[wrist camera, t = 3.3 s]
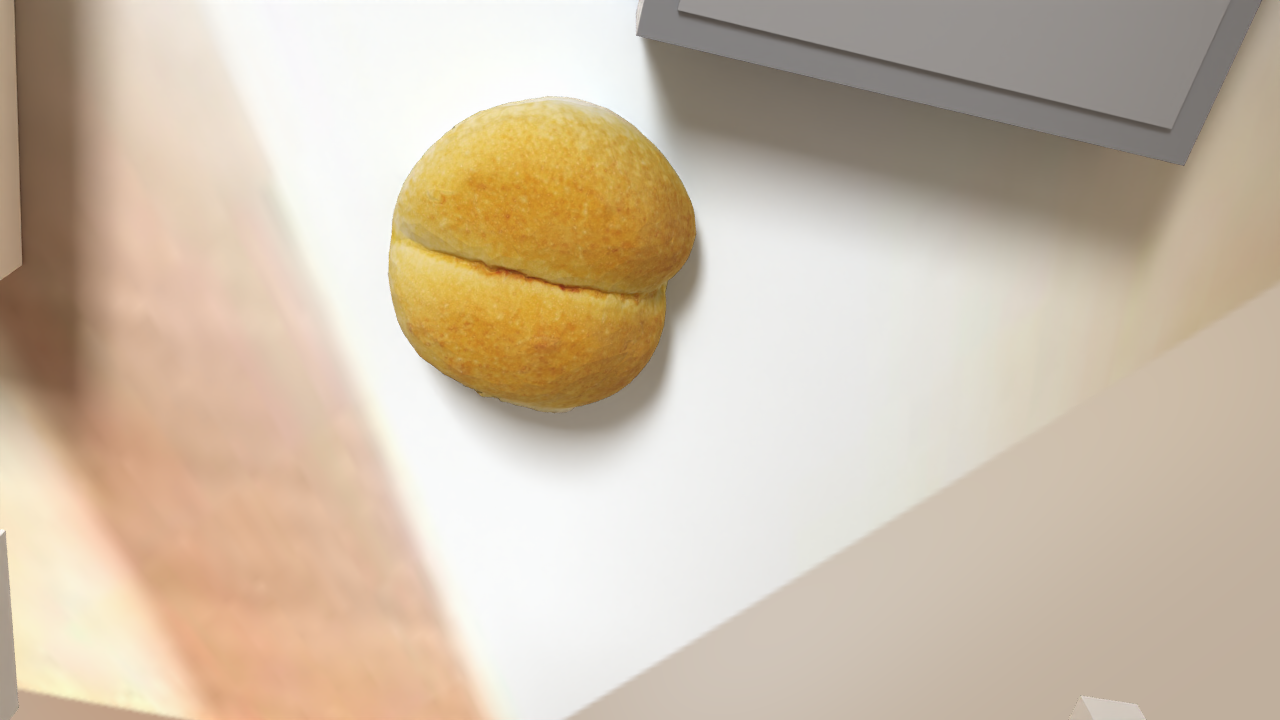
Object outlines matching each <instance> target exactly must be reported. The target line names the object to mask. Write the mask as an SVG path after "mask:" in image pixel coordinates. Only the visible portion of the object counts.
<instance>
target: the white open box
mask: <svg viewBox="0 0 1280 720" xmlns="http://www.w3.org/2000/svg"><path fill="white" fill-rule="evenodd" d="M21 265H22V240H21V208H20V175H19V142H18V109H17V77H16V44H15V11H14V0H0V280H2V279H3V278H4V277H6V276H7V275H9V274H10V273H12V272H13V271H14V270H16V269H17V268H19V267H20V266H21Z"/></svg>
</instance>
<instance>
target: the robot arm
mask: <svg viewBox="0 0 1280 720" xmlns="http://www.w3.org/2000/svg"><path fill="white" fill-rule="evenodd" d="M18 708H19V705H18V692H17V679H16V665H15V652H14V638H13V625H12V612H11V598H10V585H9V571H8V558H7V545H6V531H5V530H0V720H10V719H11V718H12V717H13V715H14V714H15V712H16V711H17V709H18ZM1068 720H1146V718H1145V717H1144V715H1143V713H1142V712H1141V710H1140V708H1139V706H1138V705H1137V704H1133V703H1126V702H1119V701H1113V700H1107V699H1100V698H1093V697H1087V696H1080V697H1079V700H1078V702H1077V703H1076V705H1075V707H1074V709H1073V711H1072V713H1071V715H1070V717H1069V719H1068Z"/></svg>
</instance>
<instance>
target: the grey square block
mask: <svg viewBox="0 0 1280 720" xmlns="http://www.w3.org/2000/svg"><path fill="white" fill-rule="evenodd" d="M1261 1H1262V0H639V2H638V6H637V11H636V36H640V37H644V38H648V39H653V40H657V41H661V42H665V43H669V44H674V45H678V46H682V47H686V48H690V49H695V50H699V51H703V52H707V53H712V54H716V55H720V56H724V57H728V58H733V59H737V60H741V61H745V62H749V63H754V64H758V65H762V66H766V67H770V68H775V69H779V70H783V71H787V72H791V73H796V74H800V75H804V76H808V77H812V78H817V79H821V80H825V81H829V82H834V83H838V84H842V85H846V86H850V87H855V88H859V89H863V90H867V91H871V92H876V93H880V94H884V95H888V96H892V97H897V98H901V99H905V100H909V101H913V102H918V103H922V104H926V105H930V106H935V107H939V108H943V109H947V110H951V111H956V112H960V113H964V114H968V115H972V116H977V117H981V118H985V119H989V120H993V121H998V122H1002V123H1006V124H1010V125H1014V126H1019V127H1023V128H1027V129H1031V130H1036V131H1040V132H1044V133H1048V134H1052V135H1057V136H1061V137H1065V138H1069V139H1073V140H1078V141H1082V142H1086V143H1090V144H1094V145H1099V146H1103V147H1107V148H1111V149H1115V150H1120V151H1124V152H1128V153H1132V154H1137V155H1141V156H1145V157H1149V158H1153V159H1158V160H1162V161H1166V162H1170V163H1174V164H1179V165H1183V166H1184V165H1185V163H1186V161H1187V159H1188V156H1189V154H1190V152H1191V150H1192V148H1193V146H1194V144H1195V142H1196V139H1197V137H1198V135H1199V133H1200V131H1201V129H1202V127H1203V125H1204V122H1205V120H1206V118H1207V116H1208V114H1209V112H1210V110H1211V108H1212V105H1213V103H1214V101H1215V99H1216V97H1217V95H1218V93H1219V91H1220V88H1221V86H1222V84H1223V82H1224V80H1225V78H1226V76H1227V74H1228V71H1229V69H1230V67H1231V65H1232V63H1233V61H1234V59H1235V57H1236V54H1237V52H1238V50H1239V48H1240V46H1241V44H1242V42H1243V40H1244V37H1245V35H1246V33H1247V31H1248V29H1249V27H1250V25H1251V23H1252V20H1253V18H1254V16H1255V14H1256V12H1257V10H1258V8H1259V6H1260V4H1261Z"/></svg>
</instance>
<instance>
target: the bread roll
mask: <svg viewBox="0 0 1280 720" xmlns="http://www.w3.org/2000/svg"><path fill="white" fill-rule="evenodd" d="M695 236H696V227H695V215H694V209H693V206H692V203H691V200H690V198H689V196H688V194H687V192H686V189H685V187H684V185H683V183H682V182H681V180H680V178H679V176H678V175H677V173H676V172H675V171H674V169H673V168H672V166H671V165H670V163H669V162H668V161H667V159H666V158H665V156H664V155H663V154H662V153H661V152H660V151H659V150H658V148H657V147H656V146H655V145H654V144H653V143H652V142H651V141H650V140H648V139H647V138H646V137H645V136H644V135H643V134H642V133H641V132H640V131H639V130H638V129H637V128H636V127H635V126H634V125H632V124H631V123H629V122H628V121H626V120H625V119H624V118H622V117H620V116H619V115H617V114H616V113H614V112H612V111H611V110H609V109H607V108H604V107H601V106H598V105H595V104H592V103H589V102H586V101H583V100H580V99H576V98H569V97H552V96H547V97H541V98H535V99H527V100H523V101H517V102H510V103H506V104H503V105H499V106H496V107H493V108H490V109H487V110H483V111H480V112H478V113H476V114H474V115H472V116H470V117H468V118H467V119H465V120H463V121H462V122H460V123H458V124H457V125H455V126H454V127H453V129H451V130H450V131H448V132H446V133H445V134H444V135H443V137H442V138H440V139H439V140H438V141H437V142H436V143H434V144H433V145H432V146H431V147H430V148H429V149H428V150H427V151H426V152H425V154H424V155H423V156H422V158H421V159H420V160H419V161H418V162H417V163H416V165H415V166H414V168H413V169H412V171H411V172H410V174H409V175H408V177H407V179H406V180H405V182H404V183H403V186H402V189H401V191H400V194H399V196H398V199H397V203H396V206H395V209H394V214H393V220H392V236H391V243H390V250H389V272H388V276H389V284H390V290H391V296H392V301H393V305H394V309H395V313H396V316H397V320H398V322H399V325H400V327H401V329H402V332H403V333H404V335H405V336H406V338H407V339H408V341H409V342H410V344H411V345H412V346H413V348H414V349H415V350H416V352H417V353H418V355H419V356H420V357H422V358H423V359H424V360H425V361H427V362H428V363H430V364H431V365H433V366H434V367H435V368H437V369H438V370H439V371H440V372H442V373H443V374H445V375H447V376H449V377H451V378H453V379H454V380H456V381H458V382H460V383H462V384H463V385H464V386H466V387H469V388H472V389H474V390H475V391H476V392H477V393H478V394H479V395H480V396H482V397H494V398H498V399H499V400H500V401H502V402H508V403H511V404H513V405H518V406H523V407H527V408H531V409H534V410H537V411H541V412H552V413H564V412H568V411H571V410H572V409H573V408H575V407H577V406H583V405H586V404H590V403H593V402H596V401H599V400H602V399H604V398H607V397H609V396H611V395H613V394H615V393H616V392H618V391H620V390H621V389H622V388H624V387H625V386H626V385H628V384H629V383H630V382H631V381H632V380H633V379H634V378H635V377H636V376H637V375H638V374H639V373H640V372H641V370H642V369H643V368H644V367H645V365H646V364H647V363H648V362H649V360H650V358H651V356H652V355H653V353H654V351H655V349H656V347H657V345H658V343H659V340H660V337H661V334H662V330H663V327H664V321H665V312H666V296H665V292H666V287H667V283H668V280H669V279H671V278H672V277H673V276H674V275H675V274H676V273H677V272H678V271H679V270H680V269H681V268H682V266H683V265H684V264H685V262H686V261H687V259H688V257H689V255H690V252H691V250H692V247H693V243H694V240H695Z"/></svg>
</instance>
